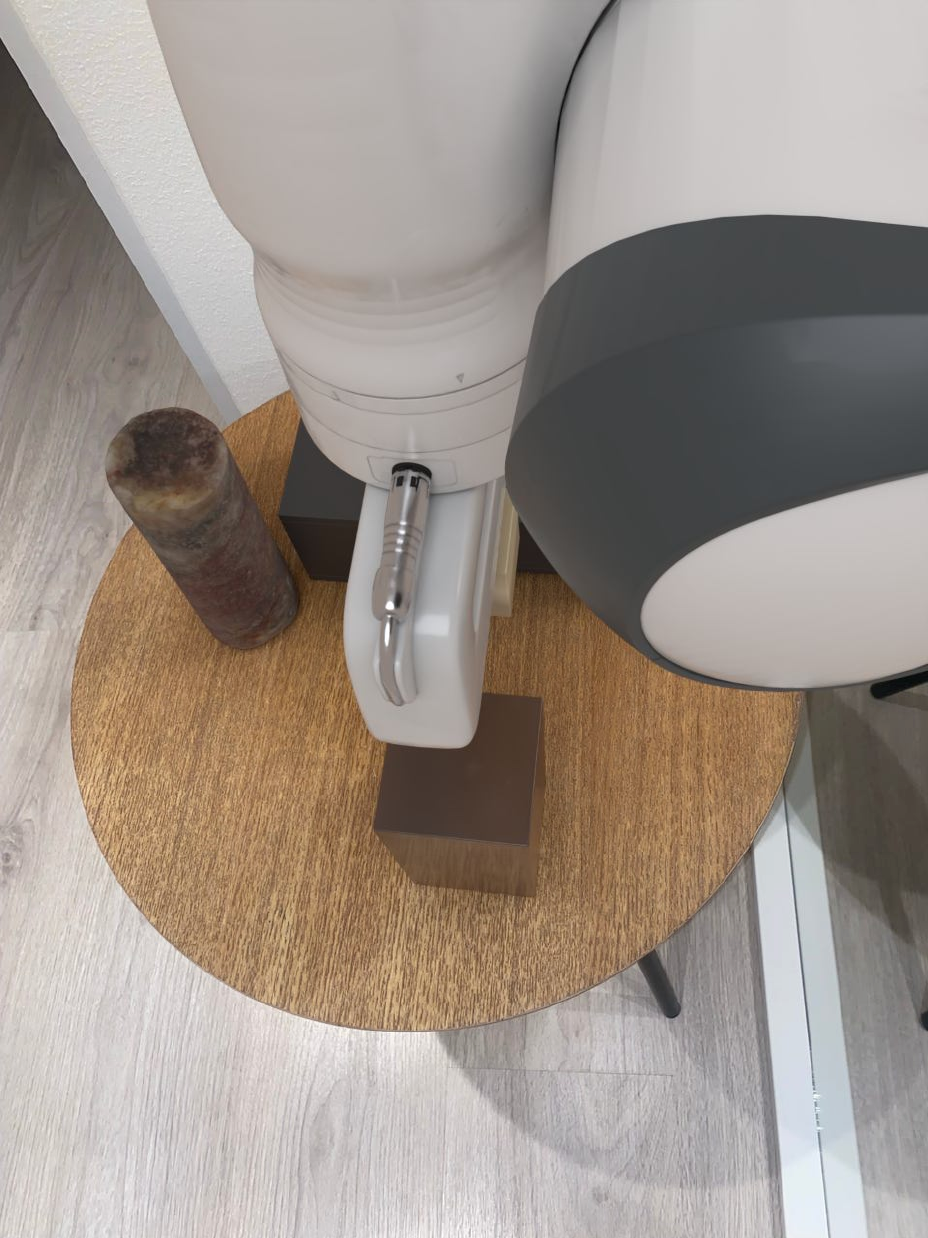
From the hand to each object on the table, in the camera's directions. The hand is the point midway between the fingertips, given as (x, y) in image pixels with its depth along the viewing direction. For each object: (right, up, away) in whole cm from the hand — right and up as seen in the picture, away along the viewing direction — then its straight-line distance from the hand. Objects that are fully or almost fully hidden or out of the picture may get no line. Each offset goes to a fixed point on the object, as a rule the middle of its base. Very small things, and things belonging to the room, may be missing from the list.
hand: (469, 560), depth 42 cm
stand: (+1, -17, +24) cm, 29 cm away
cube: (0, -1, +1) cm, 1 cm away
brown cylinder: (-16, -2, +32) cm, 36 cm away
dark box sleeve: (-4, +6, +34) cm, 35 cm away
